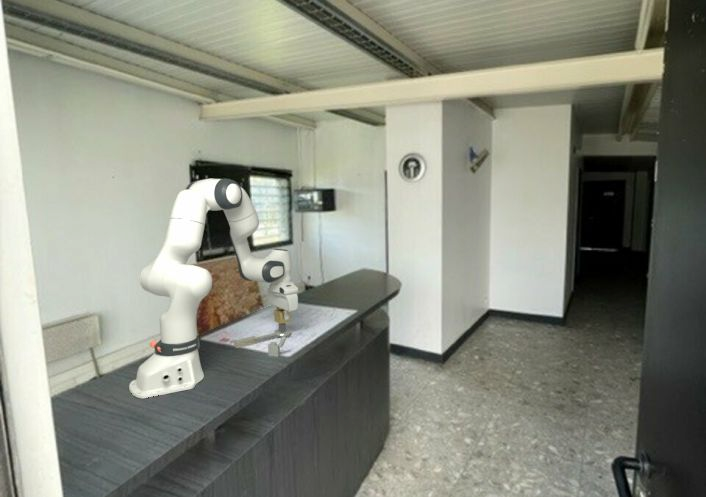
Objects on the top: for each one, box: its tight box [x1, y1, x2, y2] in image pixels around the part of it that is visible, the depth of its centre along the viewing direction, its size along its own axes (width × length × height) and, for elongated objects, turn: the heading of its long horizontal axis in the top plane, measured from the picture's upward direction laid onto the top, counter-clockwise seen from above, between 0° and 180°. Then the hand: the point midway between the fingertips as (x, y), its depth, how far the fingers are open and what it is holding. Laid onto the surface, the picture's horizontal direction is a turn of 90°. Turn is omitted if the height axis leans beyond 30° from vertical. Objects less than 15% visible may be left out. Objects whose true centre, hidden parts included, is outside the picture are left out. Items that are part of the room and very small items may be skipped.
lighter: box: [267, 336, 287, 358], centre depth 163 cm, size 7×2×8 cm, turn 74°
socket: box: [273, 308, 292, 324], centre depth 185 cm, size 5×5×5 cm
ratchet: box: [233, 322, 292, 349], centre depth 180 cm, size 25×7×6 cm, turn 129°
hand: (282, 317), depth 185 cm, fingers closed on socket, 5 cm apart
